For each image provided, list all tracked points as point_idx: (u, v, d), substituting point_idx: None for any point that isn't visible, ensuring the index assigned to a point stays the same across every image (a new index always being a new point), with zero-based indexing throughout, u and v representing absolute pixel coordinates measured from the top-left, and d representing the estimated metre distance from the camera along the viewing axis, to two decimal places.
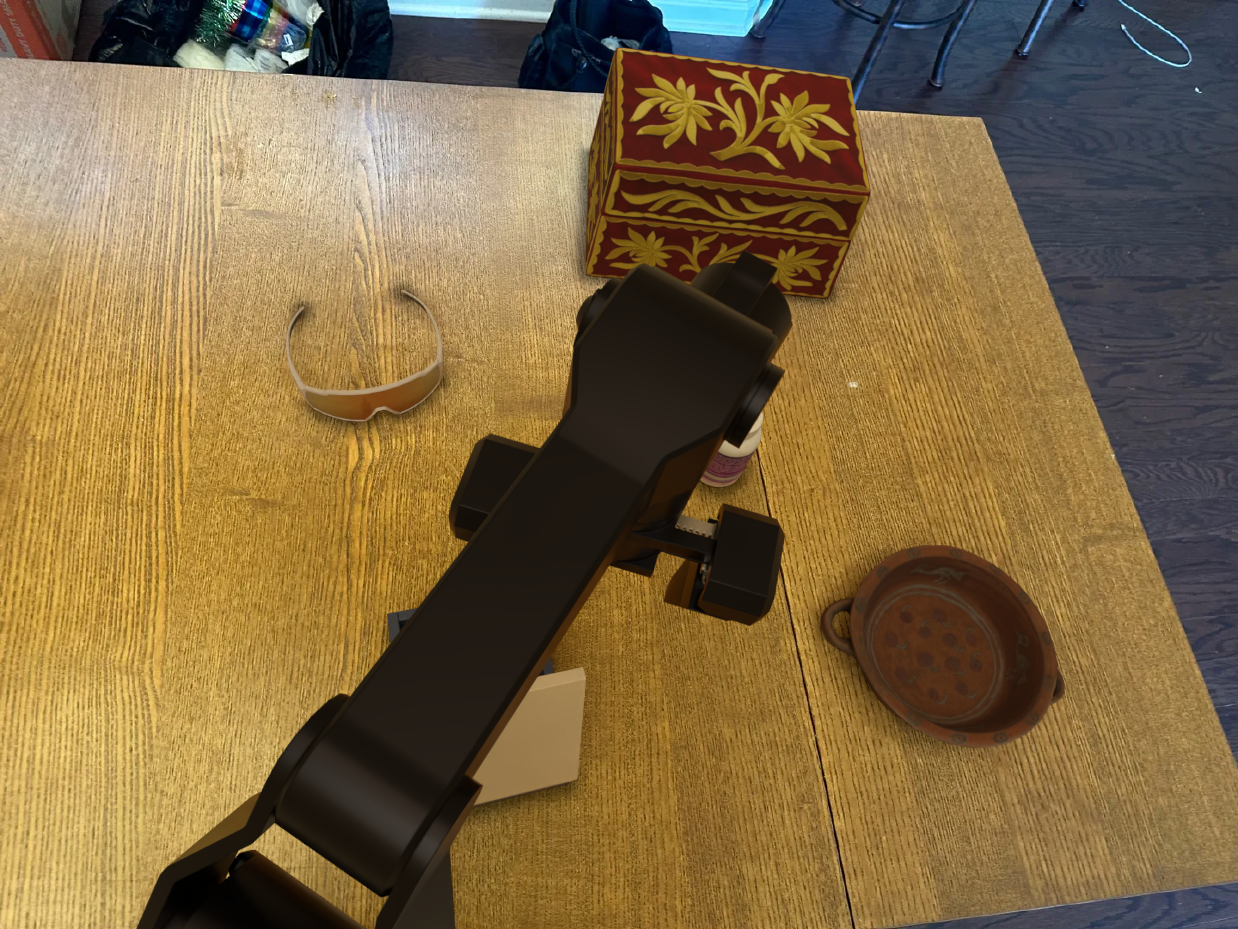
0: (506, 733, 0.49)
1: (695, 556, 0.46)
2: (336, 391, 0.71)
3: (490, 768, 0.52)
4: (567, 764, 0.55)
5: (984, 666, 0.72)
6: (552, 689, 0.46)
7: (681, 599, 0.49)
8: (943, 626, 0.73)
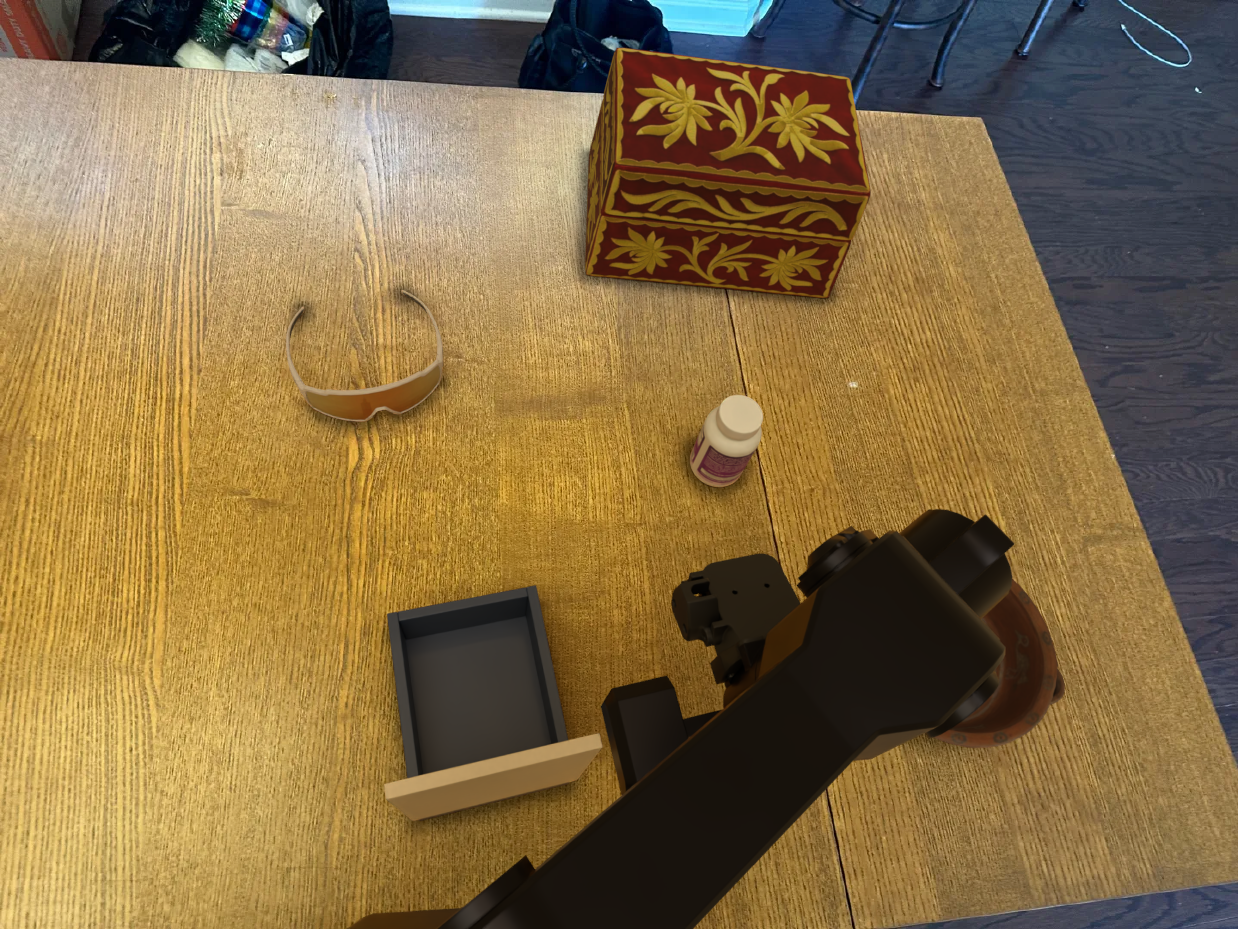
0: (514, 779, 0.48)
1: None
2: (336, 391, 0.71)
3: (494, 792, 0.51)
4: (569, 777, 0.55)
5: None
6: (567, 757, 0.44)
7: None
8: None
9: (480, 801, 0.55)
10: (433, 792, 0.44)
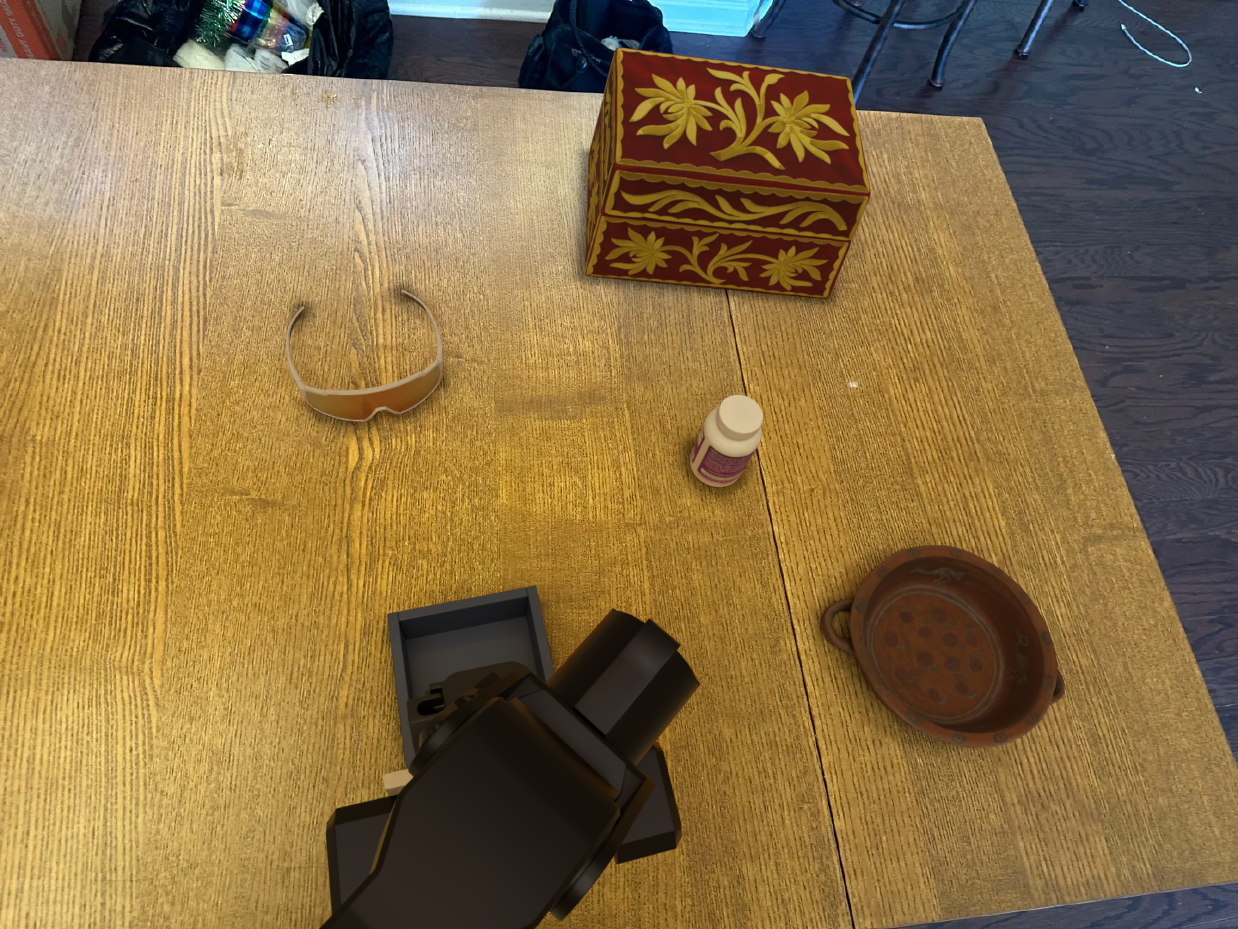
0: None
1: None
2: (336, 391, 0.71)
3: None
4: None
5: (984, 666, 0.72)
6: None
7: None
8: (943, 626, 0.73)
9: None
10: None
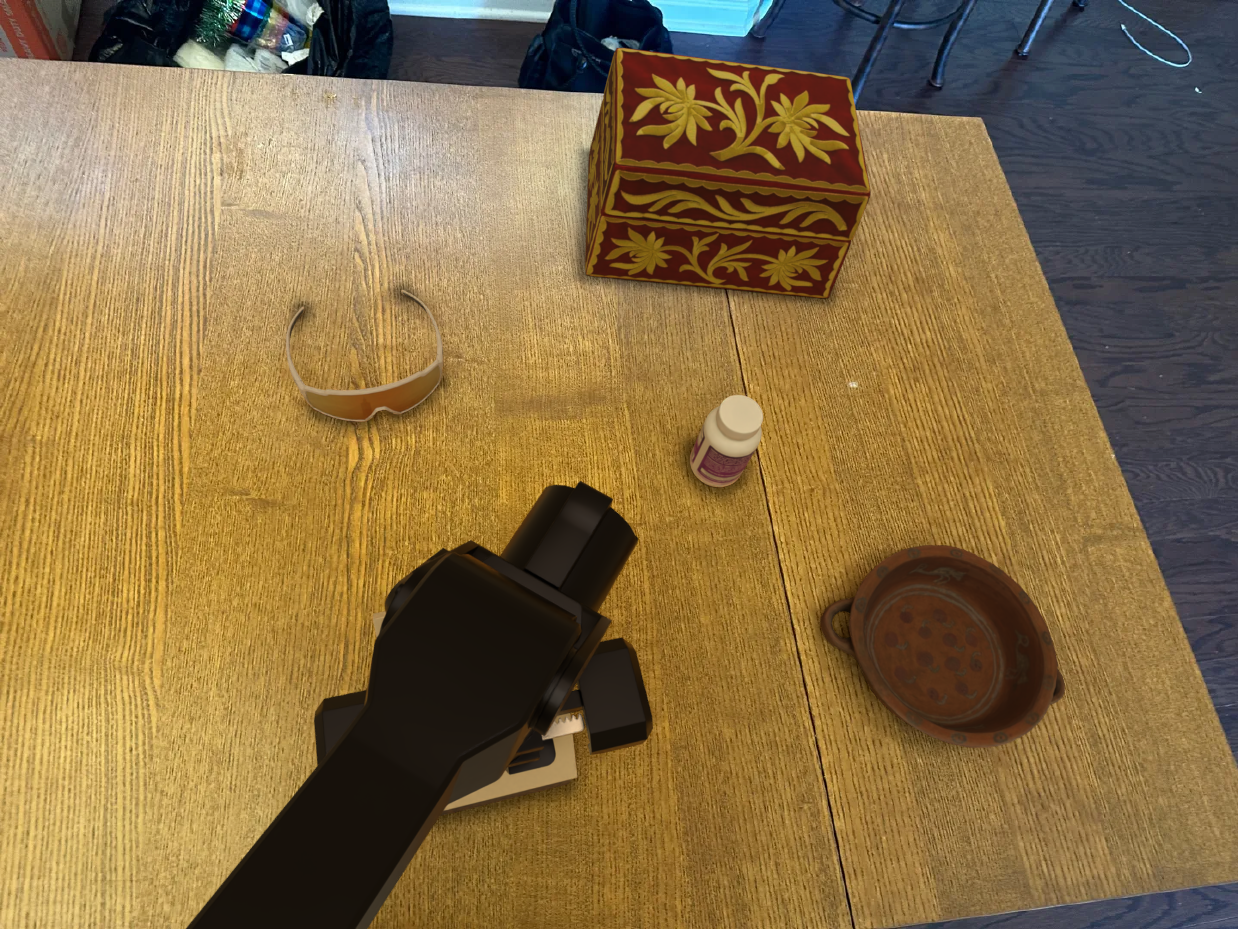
0: None
1: (567, 711, 0.48)
2: (336, 391, 0.71)
3: None
4: (561, 742, 0.56)
5: (984, 666, 0.72)
6: None
7: None
8: (943, 626, 0.73)
9: None
10: None
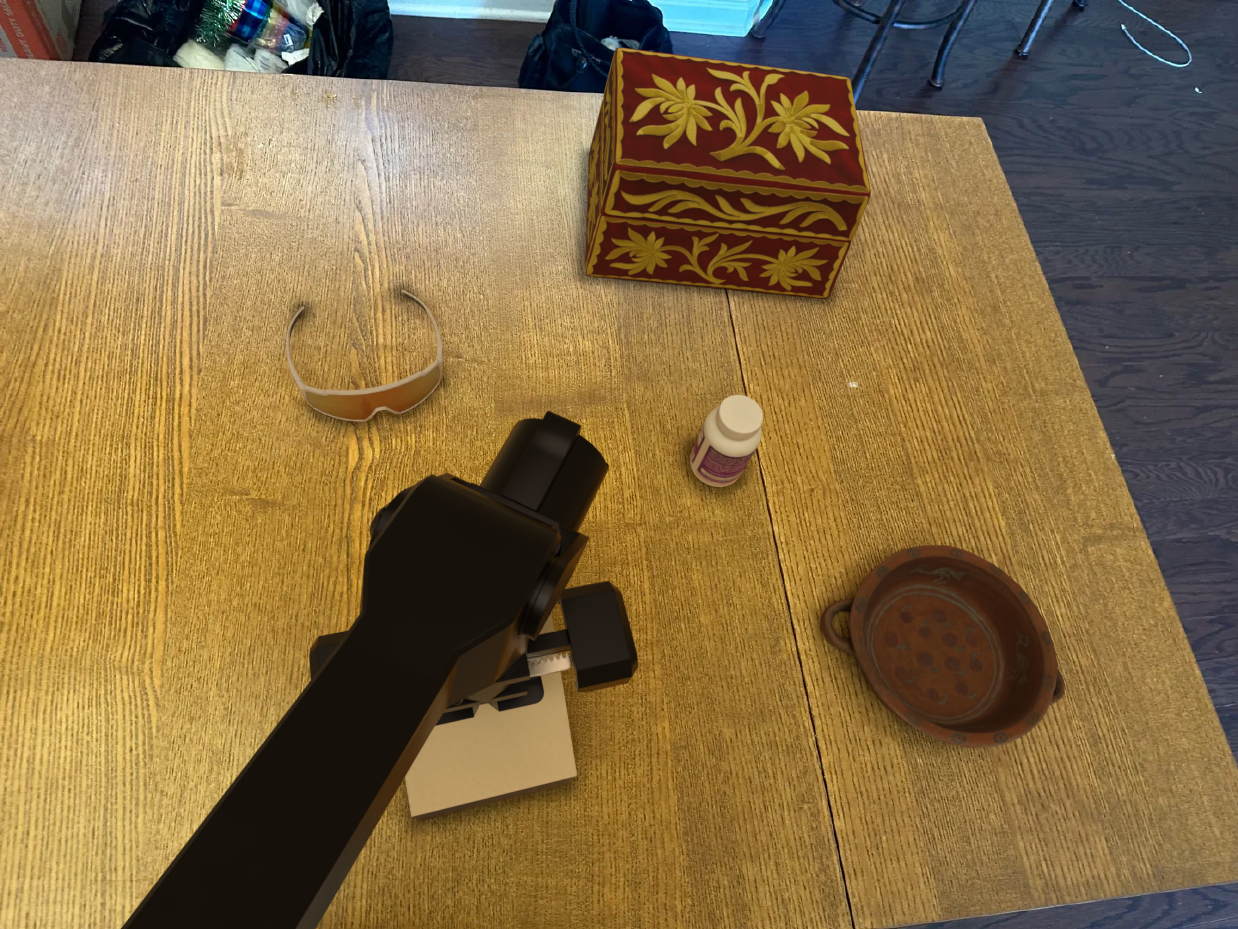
0: None
1: (555, 651, 0.49)
2: (336, 391, 0.71)
3: (480, 715, 0.56)
4: (558, 733, 0.57)
5: (984, 666, 0.72)
6: None
7: None
8: (943, 626, 0.73)
9: (475, 771, 0.56)
10: None
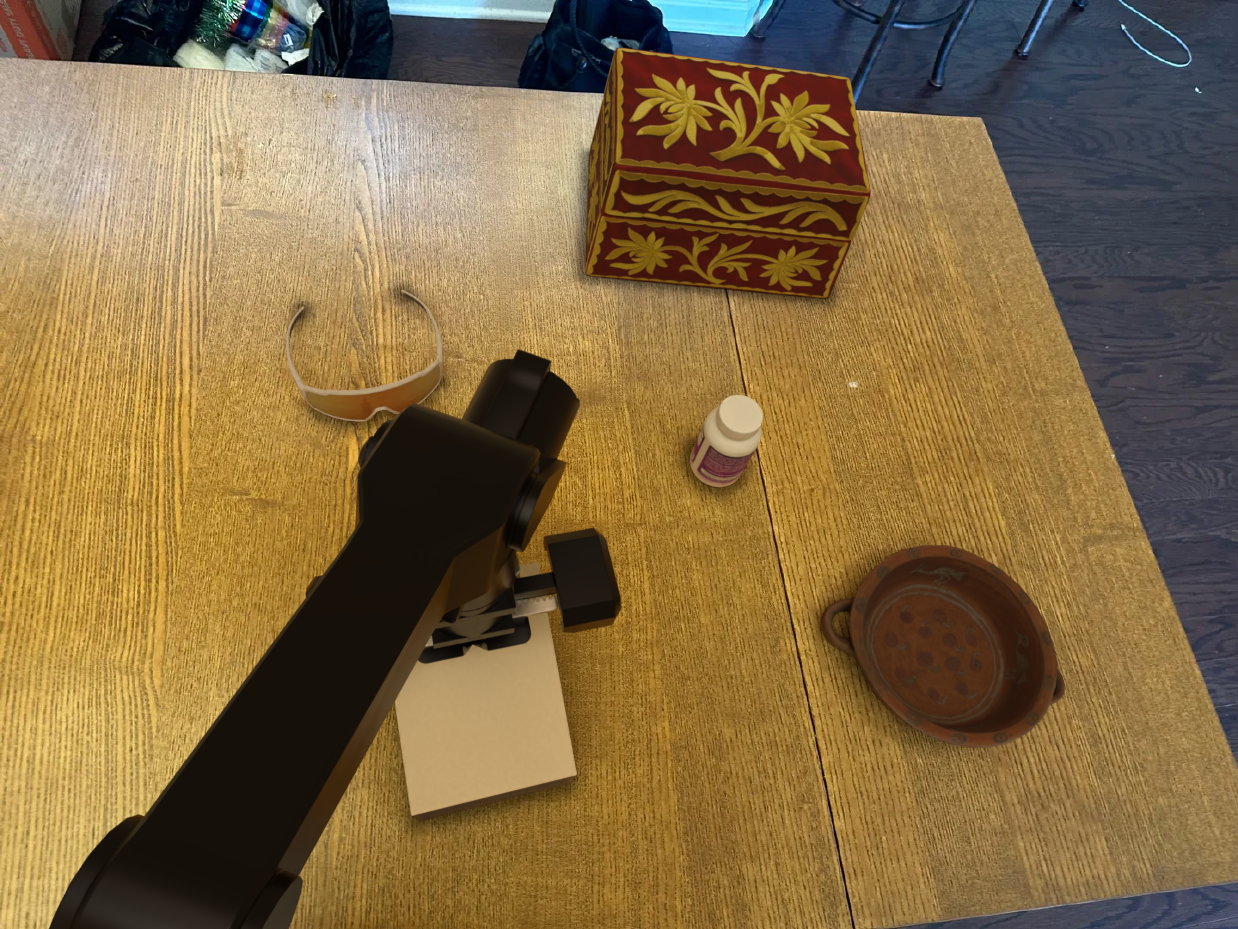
0: None
1: (542, 593, 0.51)
2: (336, 391, 0.71)
3: (480, 711, 0.57)
4: (557, 731, 0.58)
5: (984, 666, 0.72)
6: None
7: (481, 642, 0.53)
8: (943, 626, 0.73)
9: (475, 769, 0.56)
10: None
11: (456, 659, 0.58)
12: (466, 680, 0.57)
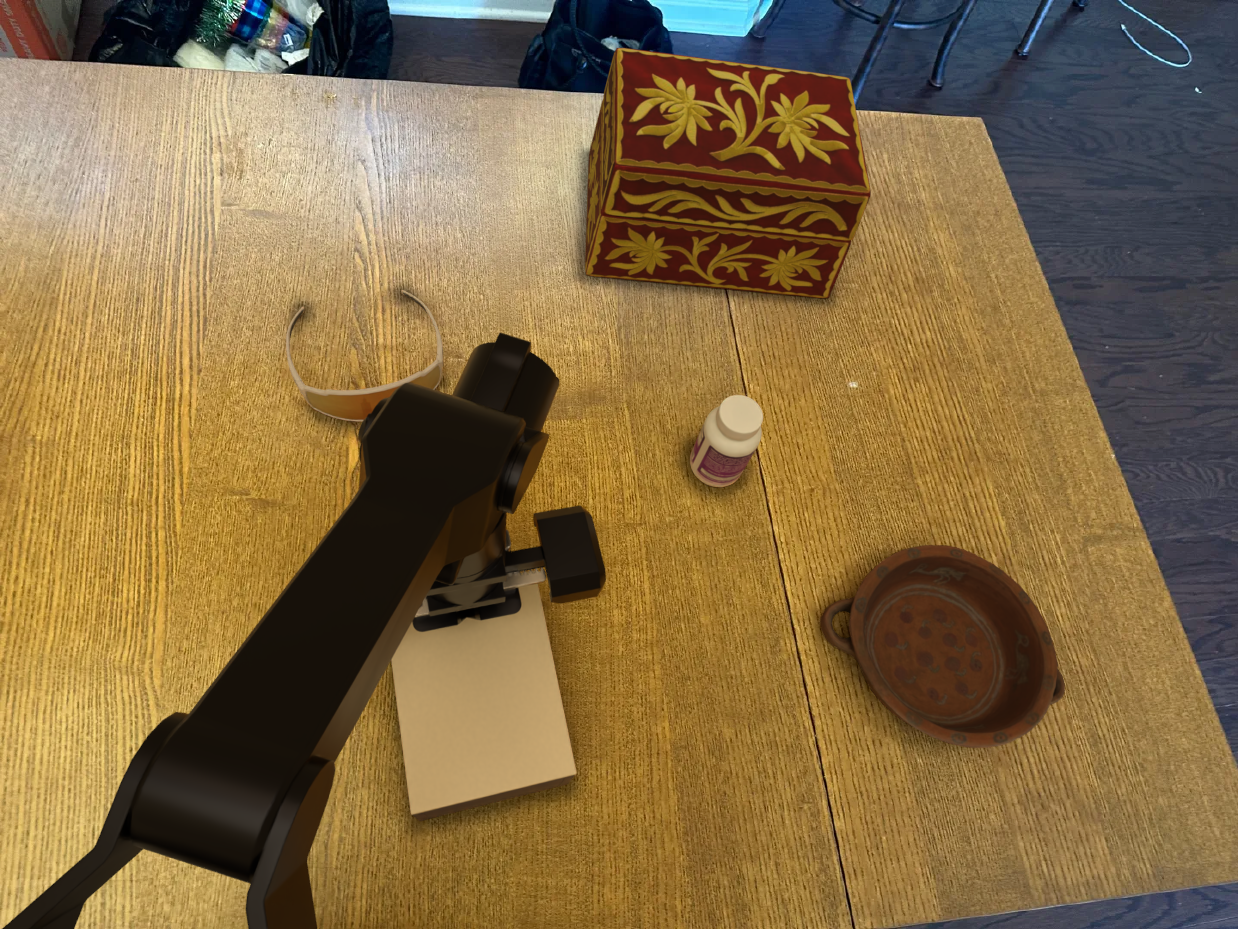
0: (484, 643, 0.61)
1: (531, 565, 0.55)
2: (336, 391, 0.71)
3: (479, 710, 0.58)
4: (556, 729, 0.59)
5: (984, 666, 0.72)
6: None
7: (474, 613, 0.56)
8: (943, 626, 0.73)
9: (475, 767, 0.57)
10: None
11: (456, 661, 0.60)
12: (466, 680, 0.59)
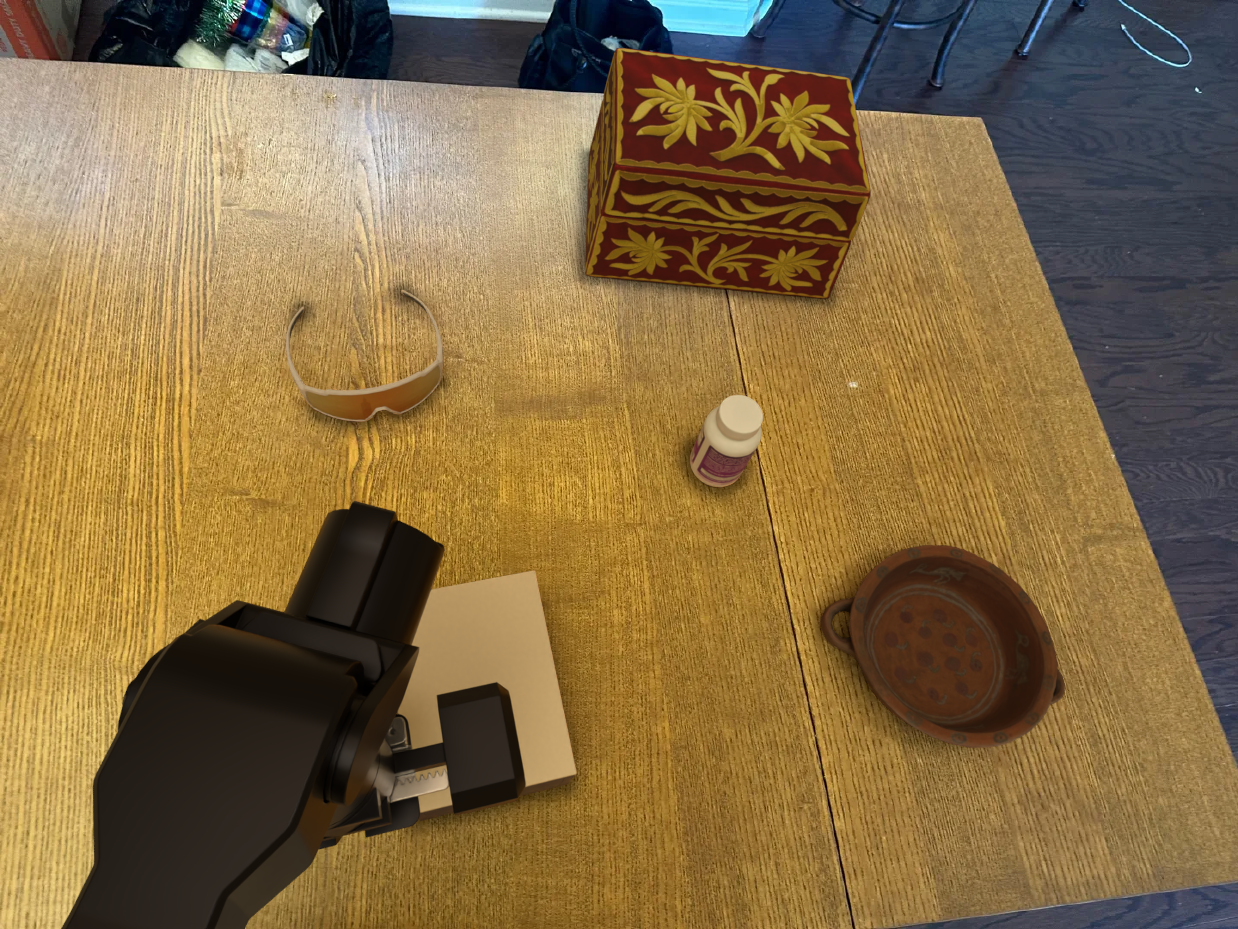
0: (484, 643, 0.61)
1: (431, 767, 0.43)
2: (336, 391, 0.71)
3: None
4: (556, 729, 0.59)
5: (984, 666, 0.72)
6: (511, 579, 0.63)
7: None
8: (943, 626, 0.73)
9: None
10: None
11: (456, 661, 0.60)
12: (466, 680, 0.59)
